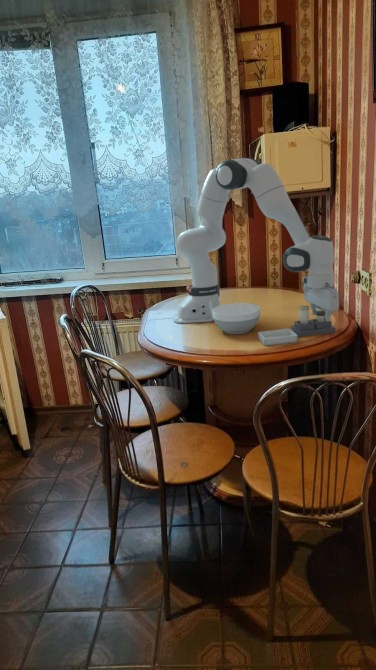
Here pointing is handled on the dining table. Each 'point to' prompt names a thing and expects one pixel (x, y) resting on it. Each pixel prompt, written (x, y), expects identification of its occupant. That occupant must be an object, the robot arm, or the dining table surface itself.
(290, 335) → the parts tray
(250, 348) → the dining table surface
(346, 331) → the dining table surface
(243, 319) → the bowl
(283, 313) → the dining table surface
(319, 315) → the fuse
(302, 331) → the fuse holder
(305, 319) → the fuse
